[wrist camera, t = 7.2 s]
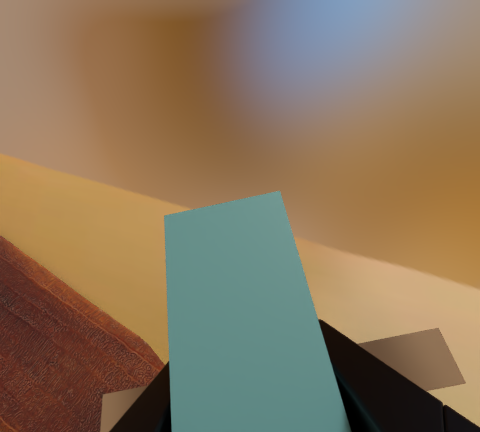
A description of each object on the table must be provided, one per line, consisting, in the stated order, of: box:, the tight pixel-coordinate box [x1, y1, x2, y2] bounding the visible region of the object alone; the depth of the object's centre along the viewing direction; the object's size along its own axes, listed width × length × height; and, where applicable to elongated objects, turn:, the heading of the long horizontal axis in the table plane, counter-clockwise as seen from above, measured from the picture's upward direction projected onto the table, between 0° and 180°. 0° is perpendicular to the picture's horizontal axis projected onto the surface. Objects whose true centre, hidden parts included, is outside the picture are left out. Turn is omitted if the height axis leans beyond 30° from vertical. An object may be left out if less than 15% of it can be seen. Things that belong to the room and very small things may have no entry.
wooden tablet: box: [0, 236, 165, 432], centre depth 22 cm, size 27×10×2 cm, turn 60°
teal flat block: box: [164, 191, 351, 432], centre depth 9 cm, size 9×3×9 cm, turn 10°
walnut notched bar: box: [100, 328, 466, 432], centre depth 16 cm, size 18×2×5 cm, turn 100°
